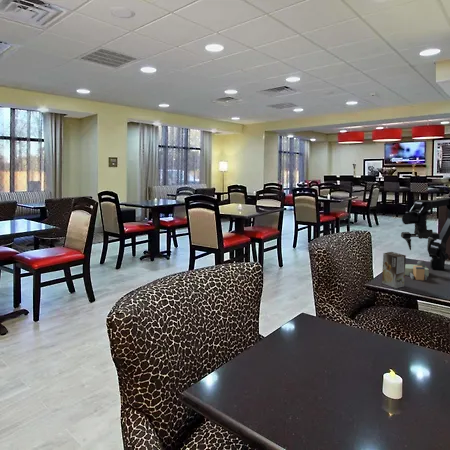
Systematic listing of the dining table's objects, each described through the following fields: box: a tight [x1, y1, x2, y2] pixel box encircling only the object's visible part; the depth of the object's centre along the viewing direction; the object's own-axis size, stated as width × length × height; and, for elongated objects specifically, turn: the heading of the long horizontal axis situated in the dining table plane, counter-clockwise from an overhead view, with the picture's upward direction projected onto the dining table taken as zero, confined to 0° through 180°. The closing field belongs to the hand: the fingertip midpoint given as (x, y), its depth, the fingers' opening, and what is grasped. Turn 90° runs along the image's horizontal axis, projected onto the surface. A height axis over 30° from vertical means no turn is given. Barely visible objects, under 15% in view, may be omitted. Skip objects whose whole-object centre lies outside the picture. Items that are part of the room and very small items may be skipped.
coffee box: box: [381, 251, 407, 289], centre depth 195 cm, size 9×6×16 cm
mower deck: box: [405, 260, 430, 281], centre depth 211 cm, size 12×16×6 cm
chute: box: [413, 266, 425, 281], centre depth 206 cm, size 4×7×7 cm, turn 166°
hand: (419, 250), depth 218 cm, fingers open, 9 cm apart
